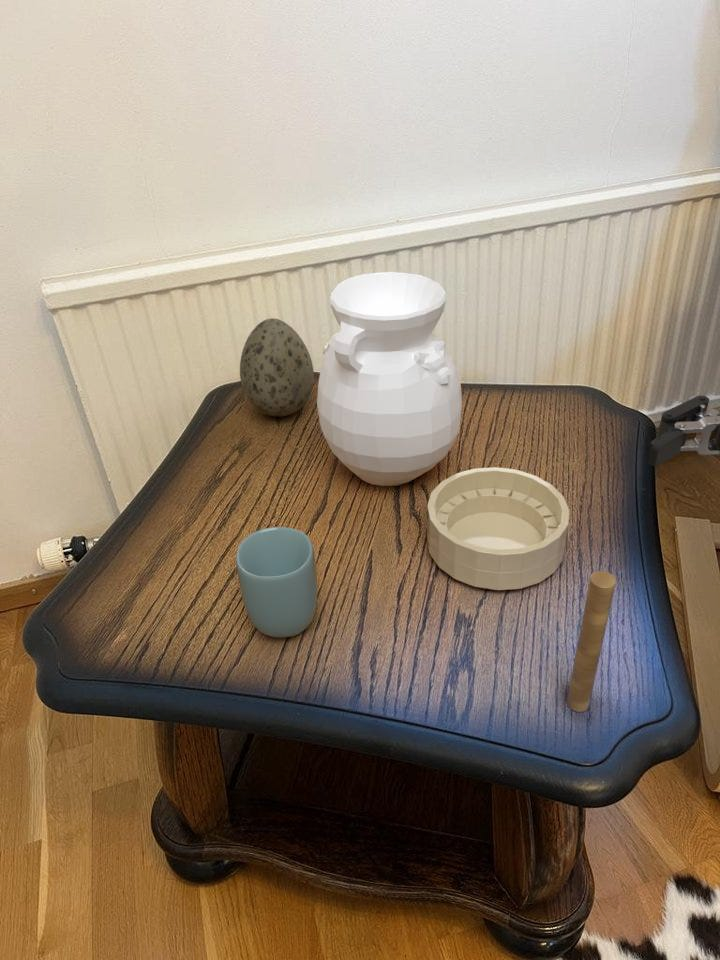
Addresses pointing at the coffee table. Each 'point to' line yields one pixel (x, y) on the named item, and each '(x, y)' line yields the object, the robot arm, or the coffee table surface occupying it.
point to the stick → (590, 639)
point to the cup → (278, 580)
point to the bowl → (497, 528)
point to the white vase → (388, 379)
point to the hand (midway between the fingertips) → (696, 479)
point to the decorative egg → (276, 369)
